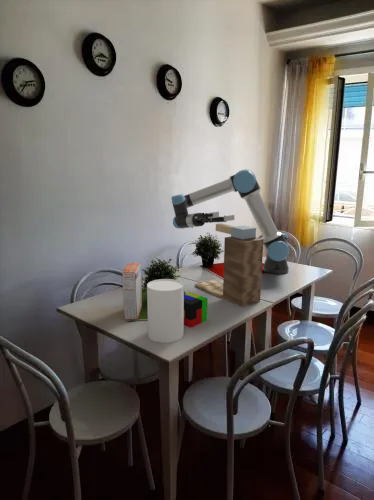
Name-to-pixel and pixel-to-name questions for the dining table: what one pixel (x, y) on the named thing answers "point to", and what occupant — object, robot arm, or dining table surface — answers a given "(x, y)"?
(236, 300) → the wooden block
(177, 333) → the canister
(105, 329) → the dining table surface
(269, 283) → the dining table surface
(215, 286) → the board
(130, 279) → the cracker box
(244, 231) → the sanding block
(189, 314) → the puzzle toy
